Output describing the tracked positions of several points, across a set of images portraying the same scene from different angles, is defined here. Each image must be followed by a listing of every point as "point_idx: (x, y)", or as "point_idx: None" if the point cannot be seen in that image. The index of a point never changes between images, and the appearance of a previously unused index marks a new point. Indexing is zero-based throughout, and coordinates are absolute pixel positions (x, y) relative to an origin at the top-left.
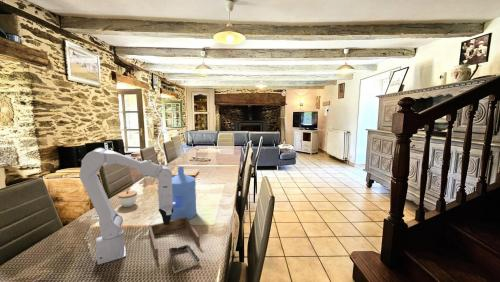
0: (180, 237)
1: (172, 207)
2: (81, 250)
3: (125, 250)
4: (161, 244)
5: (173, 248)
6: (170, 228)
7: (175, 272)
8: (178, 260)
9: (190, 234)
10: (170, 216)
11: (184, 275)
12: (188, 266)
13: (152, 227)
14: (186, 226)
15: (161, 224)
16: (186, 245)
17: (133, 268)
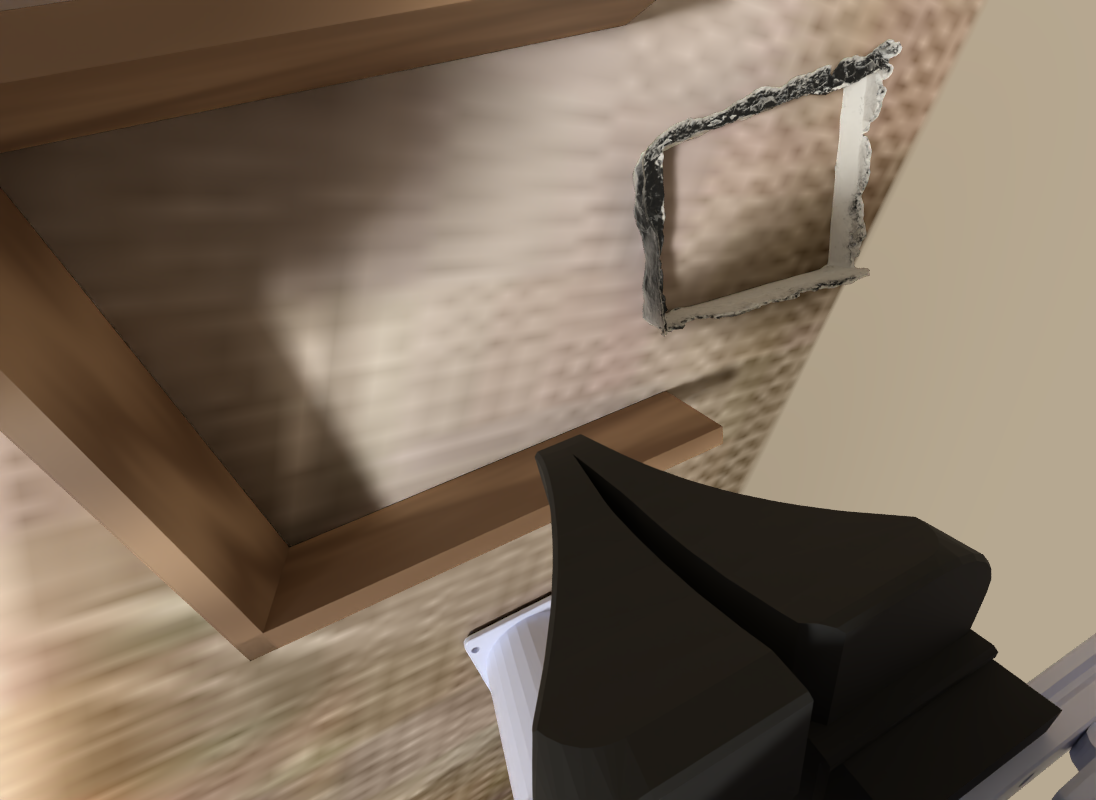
0: (380, 237)
1: (809, 693)
2: (446, 794)
3: (521, 615)
4: (484, 414)
5: (663, 296)
6: (147, 393)
7: (833, 257)
8: (735, 243)
9: (330, 82)
10: (713, 494)
11: (874, 196)
12: (860, 161)
13: (260, 604)
14: (56, 128)
15: (183, 538)
16: (650, 161)
17: None
